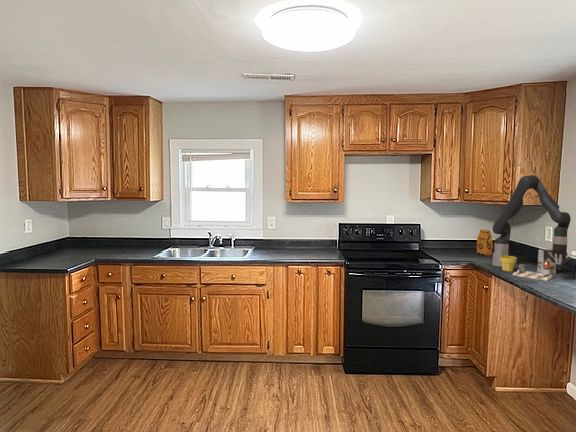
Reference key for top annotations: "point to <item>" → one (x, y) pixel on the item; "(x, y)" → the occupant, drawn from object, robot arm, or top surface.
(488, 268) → the top surface
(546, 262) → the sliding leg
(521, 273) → the beige wooden board
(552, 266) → the coffee box
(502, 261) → the plant pot
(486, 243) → the coffee package
